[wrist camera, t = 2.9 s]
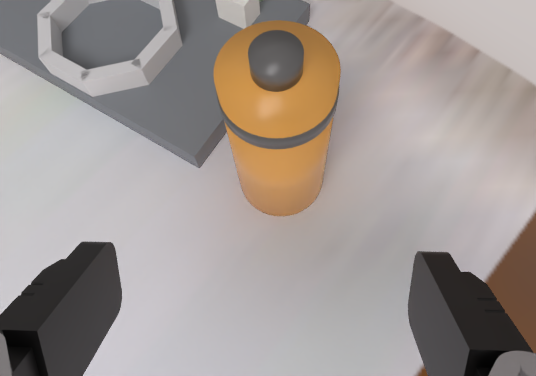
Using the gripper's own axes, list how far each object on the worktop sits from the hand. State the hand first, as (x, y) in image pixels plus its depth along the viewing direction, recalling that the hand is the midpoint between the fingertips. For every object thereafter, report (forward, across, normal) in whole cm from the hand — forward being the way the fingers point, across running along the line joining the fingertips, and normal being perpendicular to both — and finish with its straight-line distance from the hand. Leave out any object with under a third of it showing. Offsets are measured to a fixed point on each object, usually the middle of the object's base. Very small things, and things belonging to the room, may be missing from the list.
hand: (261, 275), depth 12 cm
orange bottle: (+14, 0, +3) cm, 14 cm away
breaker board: (+22, +10, -5) cm, 25 cm away
